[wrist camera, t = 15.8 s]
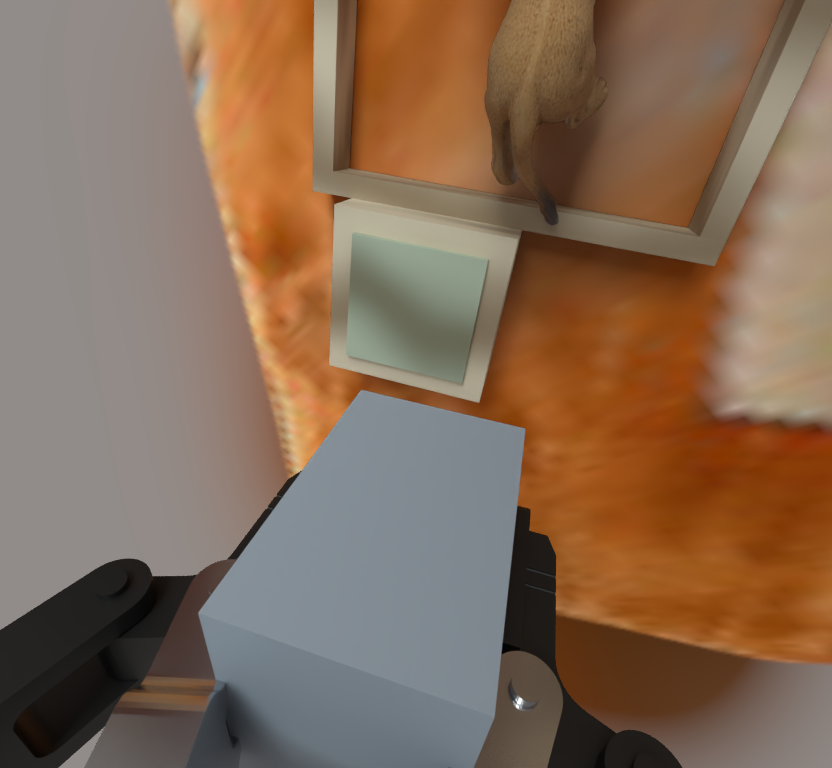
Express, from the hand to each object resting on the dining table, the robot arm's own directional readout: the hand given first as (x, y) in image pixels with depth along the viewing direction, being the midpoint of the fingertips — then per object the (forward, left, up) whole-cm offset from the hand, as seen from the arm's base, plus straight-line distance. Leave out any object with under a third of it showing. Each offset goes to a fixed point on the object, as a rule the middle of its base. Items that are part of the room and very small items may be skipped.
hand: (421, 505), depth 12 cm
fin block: (0, 0, 0) cm, 0 cm away
